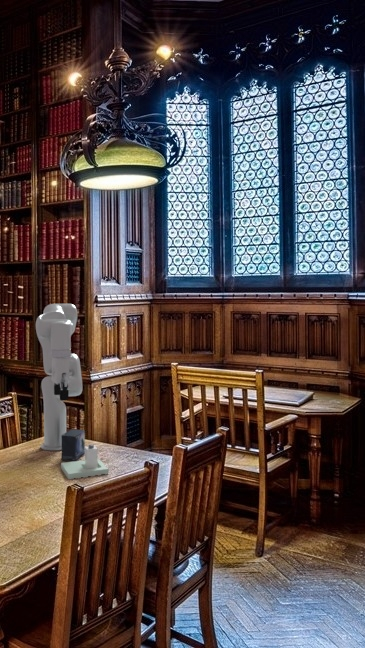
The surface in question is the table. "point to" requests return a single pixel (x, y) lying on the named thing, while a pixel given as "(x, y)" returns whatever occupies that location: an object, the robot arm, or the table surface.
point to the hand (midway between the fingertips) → (61, 397)
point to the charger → (91, 457)
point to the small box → (73, 445)
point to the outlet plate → (82, 469)
